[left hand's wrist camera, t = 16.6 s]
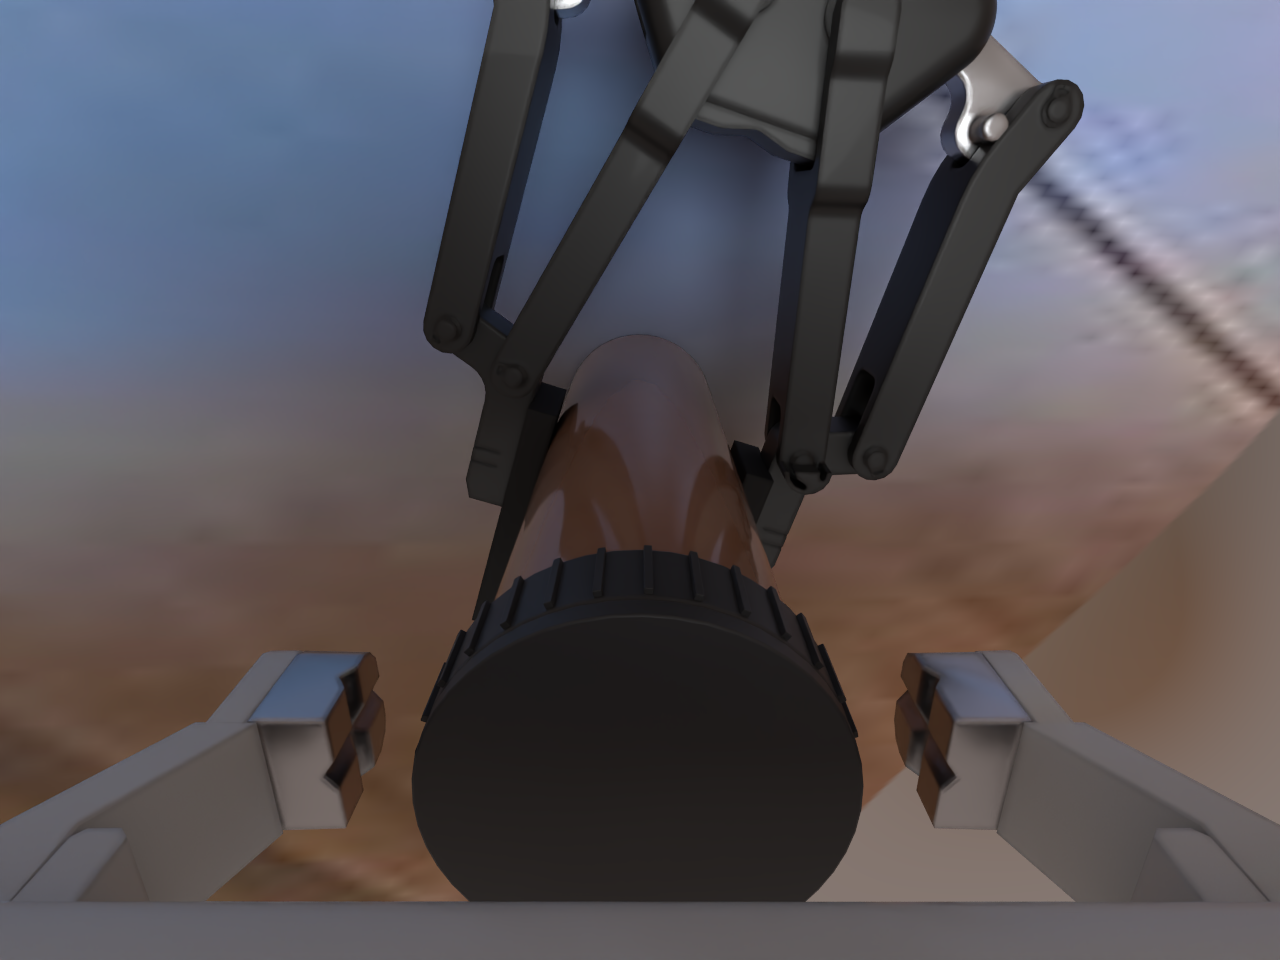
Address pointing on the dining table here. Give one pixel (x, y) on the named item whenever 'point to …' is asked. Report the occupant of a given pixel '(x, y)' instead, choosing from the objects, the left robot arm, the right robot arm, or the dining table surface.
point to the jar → (638, 468)
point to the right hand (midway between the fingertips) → (588, 621)
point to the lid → (637, 741)
